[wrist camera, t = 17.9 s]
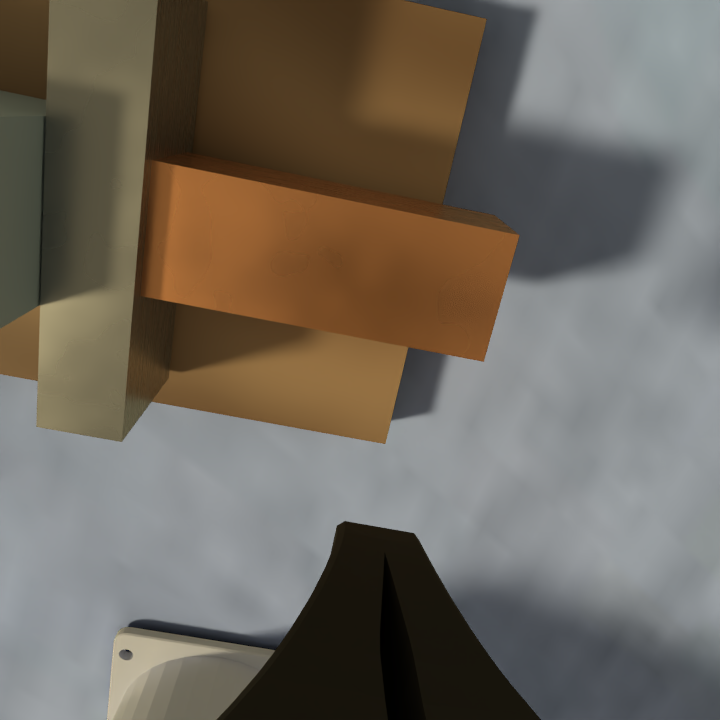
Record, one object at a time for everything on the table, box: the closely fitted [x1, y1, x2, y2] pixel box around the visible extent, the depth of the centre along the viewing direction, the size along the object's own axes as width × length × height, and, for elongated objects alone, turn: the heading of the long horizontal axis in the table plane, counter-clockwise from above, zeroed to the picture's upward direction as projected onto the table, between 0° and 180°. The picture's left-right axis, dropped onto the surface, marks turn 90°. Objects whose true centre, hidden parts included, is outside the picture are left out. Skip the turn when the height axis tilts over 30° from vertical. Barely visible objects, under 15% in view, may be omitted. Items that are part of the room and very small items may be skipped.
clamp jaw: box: [37, 0, 519, 442], centre depth 16 cm, size 10×10×4 cm
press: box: [0, 0, 487, 444], centre depth 15 cm, size 12×18×10 cm, turn 79°
